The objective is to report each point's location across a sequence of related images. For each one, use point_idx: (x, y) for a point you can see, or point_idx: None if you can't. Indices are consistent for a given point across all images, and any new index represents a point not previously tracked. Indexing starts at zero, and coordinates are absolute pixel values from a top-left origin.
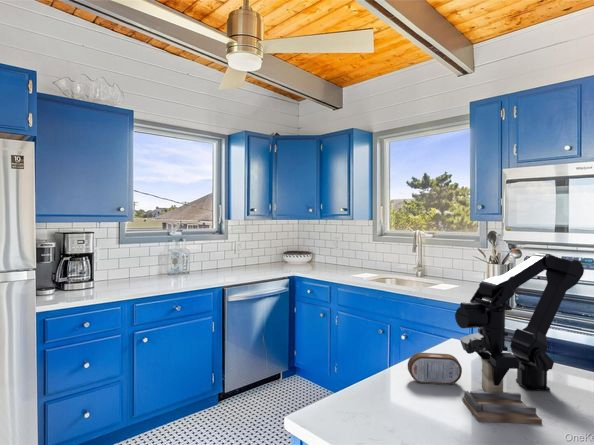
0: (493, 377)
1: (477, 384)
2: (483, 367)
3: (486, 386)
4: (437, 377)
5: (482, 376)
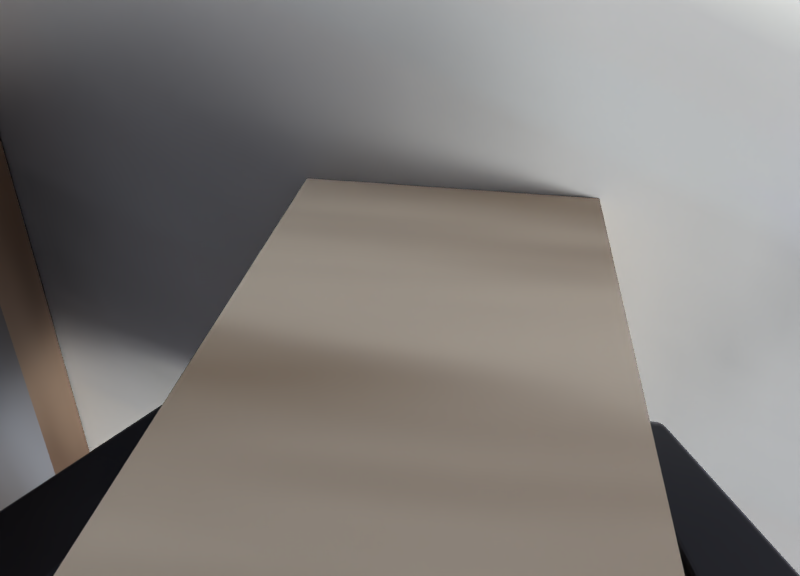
0: (97, 484)
1: (745, 171)
2: (552, 570)
3: (354, 234)
4: None
5: (599, 333)
